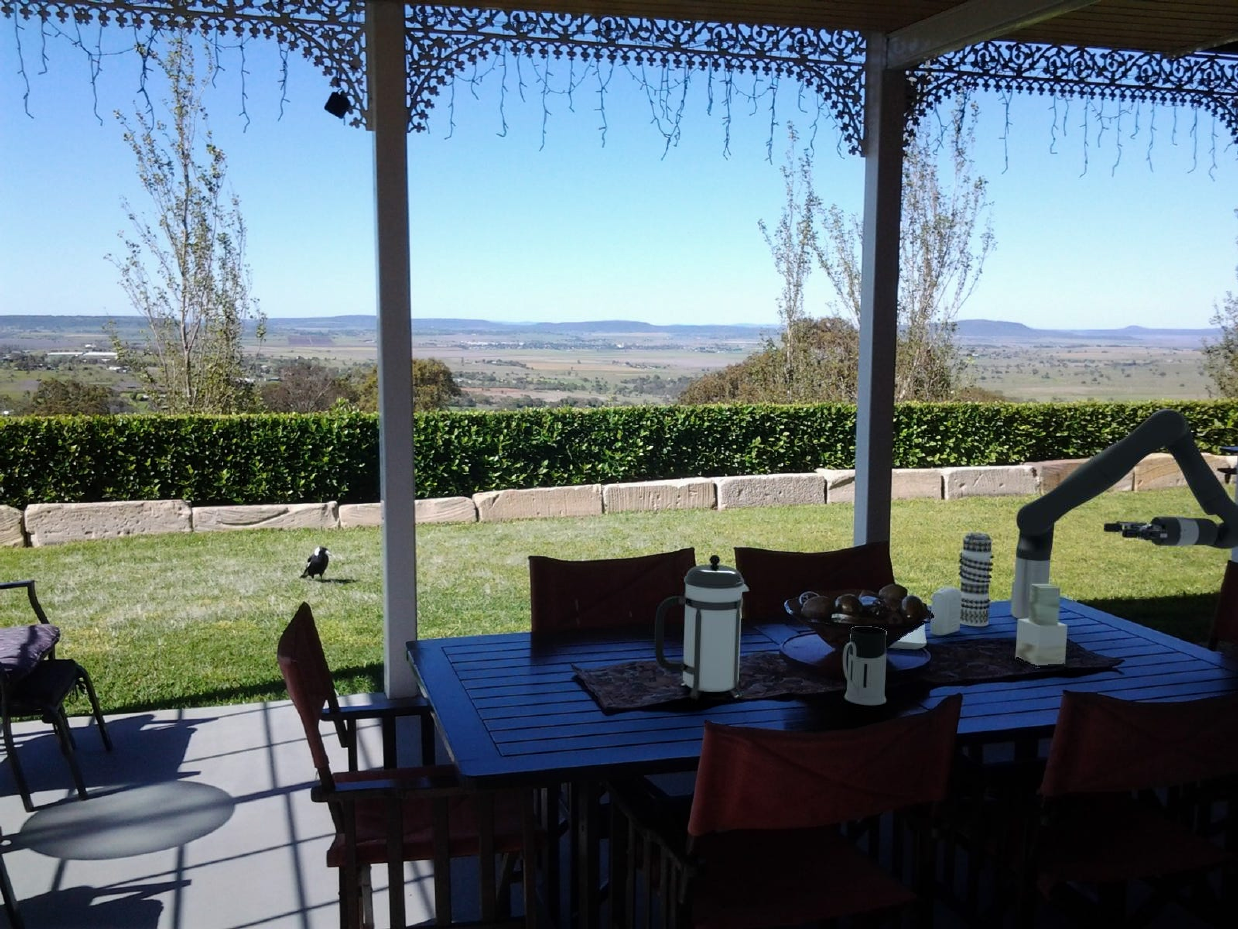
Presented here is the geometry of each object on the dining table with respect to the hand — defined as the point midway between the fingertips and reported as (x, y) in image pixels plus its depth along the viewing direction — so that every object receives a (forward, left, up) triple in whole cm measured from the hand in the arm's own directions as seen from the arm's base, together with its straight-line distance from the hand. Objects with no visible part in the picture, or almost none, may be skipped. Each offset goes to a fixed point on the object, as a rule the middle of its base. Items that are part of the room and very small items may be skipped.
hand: (1113, 530), depth 279 cm
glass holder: (+26, -85, -31) cm, 94 cm away
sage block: (+8, -25, -21) cm, 34 cm away
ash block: (+7, -25, -31) cm, 41 cm away
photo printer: (-22, -33, -31) cm, 50 cm away
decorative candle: (-30, -19, -31) cm, 47 cm away
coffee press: (+13, -115, -31) cm, 119 cm away
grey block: (+7, -25, -26) cm, 37 cm away
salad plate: (-18, -54, -31) cm, 65 cm away
